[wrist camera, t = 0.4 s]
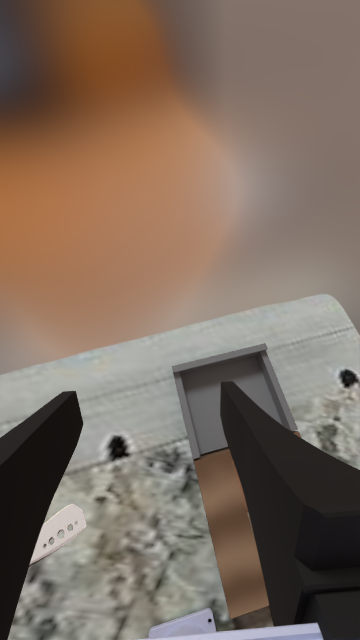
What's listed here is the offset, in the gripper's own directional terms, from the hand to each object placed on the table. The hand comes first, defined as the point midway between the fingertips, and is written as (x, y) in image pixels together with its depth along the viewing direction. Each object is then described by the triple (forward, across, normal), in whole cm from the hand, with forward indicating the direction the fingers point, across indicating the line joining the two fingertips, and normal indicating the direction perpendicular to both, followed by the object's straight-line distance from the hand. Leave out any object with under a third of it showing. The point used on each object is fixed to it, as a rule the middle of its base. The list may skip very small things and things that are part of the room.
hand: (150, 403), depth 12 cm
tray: (+22, -10, +18) cm, 30 cm away
